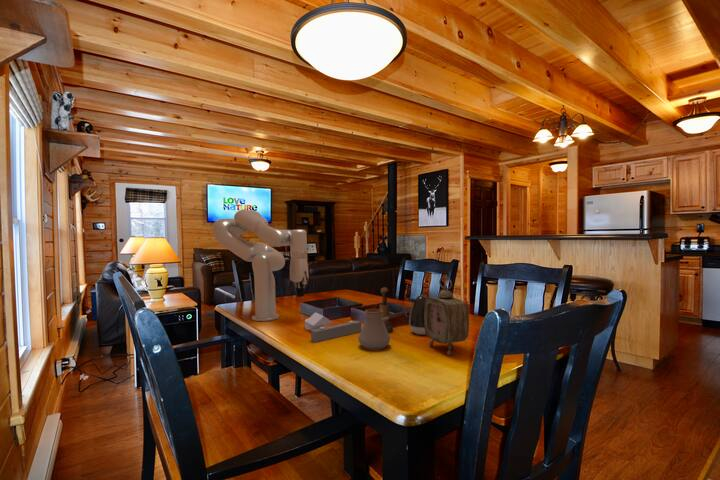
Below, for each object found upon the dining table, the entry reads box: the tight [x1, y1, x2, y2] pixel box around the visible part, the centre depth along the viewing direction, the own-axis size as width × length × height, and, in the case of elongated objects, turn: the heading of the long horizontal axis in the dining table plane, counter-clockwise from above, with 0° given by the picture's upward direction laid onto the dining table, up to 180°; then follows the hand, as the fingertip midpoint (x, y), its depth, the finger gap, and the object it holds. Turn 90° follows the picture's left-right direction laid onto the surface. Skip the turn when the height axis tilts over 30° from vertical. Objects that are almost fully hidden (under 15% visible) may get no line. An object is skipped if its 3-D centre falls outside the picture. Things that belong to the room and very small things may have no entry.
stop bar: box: [310, 320, 362, 344], centre depth 137 cm, size 3×22×5 cm, turn 129°
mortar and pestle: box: [379, 286, 394, 334], centre depth 144 cm, size 7×6×18 cm
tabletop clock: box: [424, 276, 470, 356], centre depth 119 cm, size 14×9×25 cm, turn 22°
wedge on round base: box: [304, 311, 334, 331], centre depth 148 cm, size 9×7×13 cm
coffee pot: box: [357, 308, 411, 351], centre depth 120 cm, size 21×12×15 cm, turn 44°
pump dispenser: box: [408, 294, 428, 336], centre depth 140 cm, size 10×10×15 cm
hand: (300, 296), depth 160 cm, fingers closed
